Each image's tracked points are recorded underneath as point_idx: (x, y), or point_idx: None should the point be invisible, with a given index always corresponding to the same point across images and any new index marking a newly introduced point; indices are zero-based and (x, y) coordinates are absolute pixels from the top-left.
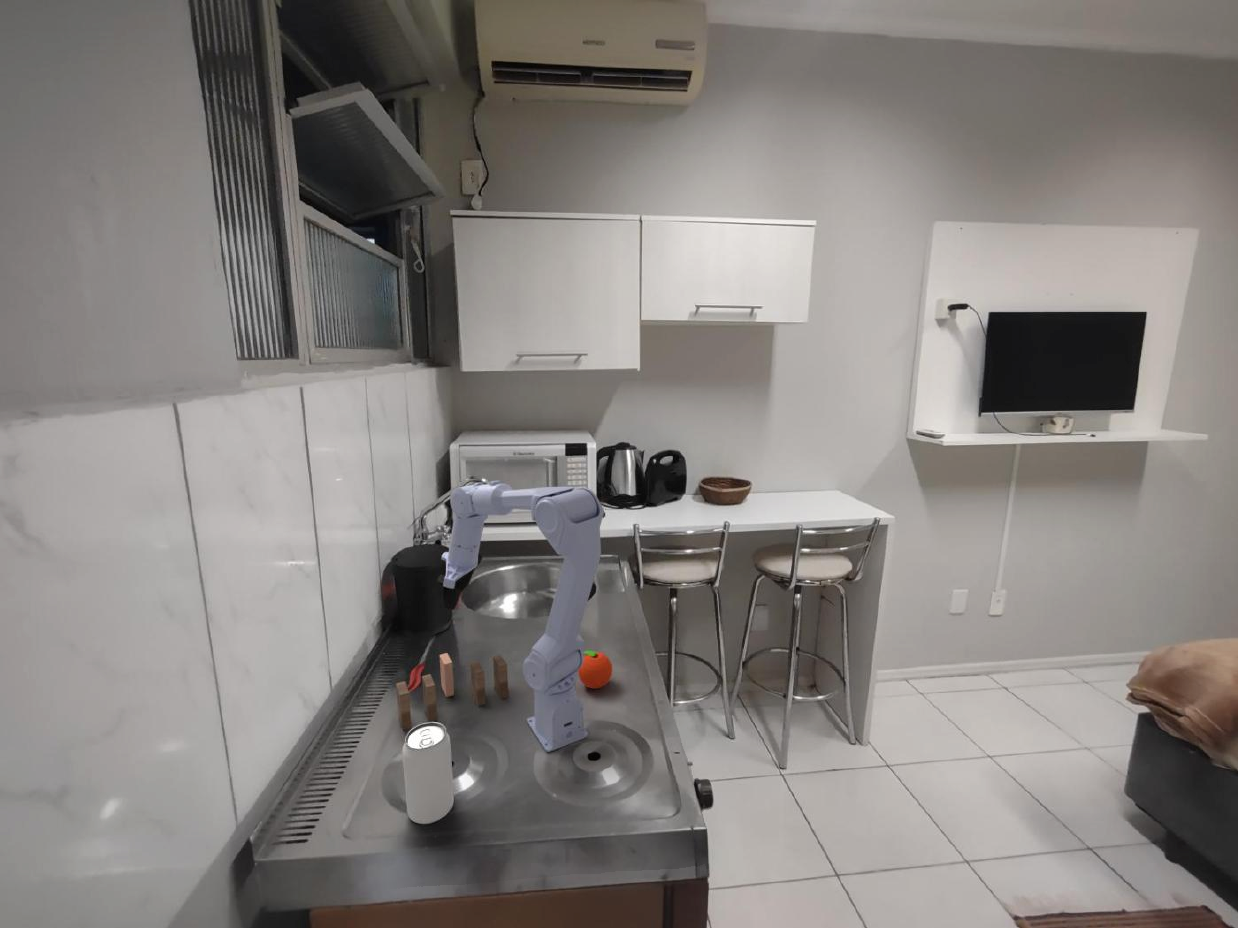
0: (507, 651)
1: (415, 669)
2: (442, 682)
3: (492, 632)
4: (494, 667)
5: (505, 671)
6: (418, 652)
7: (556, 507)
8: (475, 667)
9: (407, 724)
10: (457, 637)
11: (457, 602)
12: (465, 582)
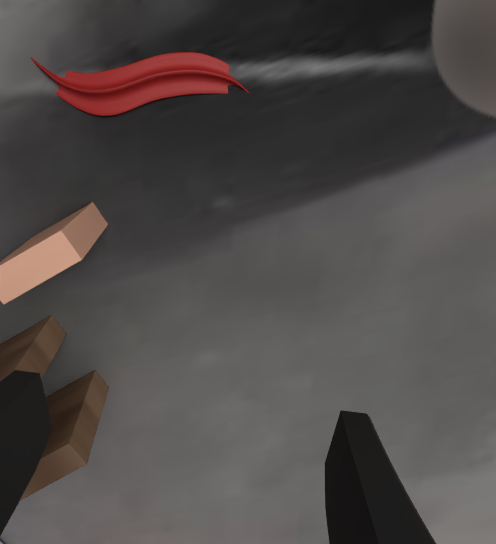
0: (309, 359)
1: (165, 74)
2: (68, 217)
3: (442, 283)
4: (66, 424)
5: None
6: (331, 31)
7: None
8: None
9: None
10: (427, 163)
11: (22, 490)
12: (331, 499)
